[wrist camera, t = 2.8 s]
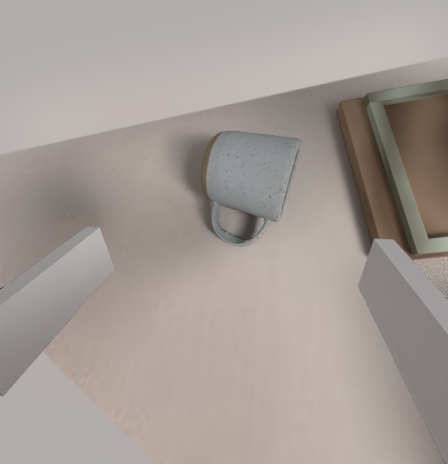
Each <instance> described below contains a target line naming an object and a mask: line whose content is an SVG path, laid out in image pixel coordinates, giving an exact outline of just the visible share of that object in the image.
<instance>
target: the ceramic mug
mask: <svg viewBox="0 0 448 464" xmlns="http://www.w3.org/2000/svg"><path fill="white" fill-rule="evenodd" d="M300 145H301V141H300V140H299V139H297V138H289V137H280V136H273V135H263V134H254V133H247V132H240V131H226V132H220V133H218V134H217V135H216V136H215V137H213V139H212V140H211V141H210V143H209V145H208V147H207V150H206V153H205V156H204V161H203V165H202V176H201V178H202V187H203V190H204V193H205V194H206V196H207V197H208V198H209V199H210V200H212V201H213V203H214V204H213V206H212V211H211V221H212V226H213V229H214V230H215V232H216V234H217V235H218V236H219V237H220V238H221V239H222V240H223V241H225V242H227V243H229V244H231V245H234V246H241V247H242V246H246V245H249V244H251V243H253V242H255V241H256V240H257V239H258V238H260V237H261V235H262V234H263V233H264V231H265V230H266V228H267V227H268V225H269V223H270V221H275V222H278V221H279V220H280V217H281V215H282V212H283V209H284V205H285V203H286V200H287V196H288V193H289V190H290V186H291V182H292V179H293V175H294V171H295V168H296V163H297V159H298V155H299V150H300ZM220 205H223V206H226V207H230V208H233V209H235V210H237V209H238V210H240V211H244V212H246V213H249V214H252V215H255V216H258V217H262V218H264V220H265V223H264V225H263V227H262V228H261V229H260V231H259V232H258V233H257V234H256V235H255V236H254V237H253V238H251V239H249V240H242V239H240V238H238V237H235V236H233V235H231V234H229V233H228V231H225V230H224V231H223V230H222V229H221V226H220V224H219V217H218V214H219V207H220Z"/></svg>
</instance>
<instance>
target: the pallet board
mask: <svg viewBox="0 0 448 464" xmlns="http://www.w3.org/2000/svg"><path fill="white" fill-rule="evenodd" d="M337 115H338V118H339V122H340V126H341V130H342V133H343V137H344V141H345V144H346V148H347V152H348V156H349V159H350V163H351V167H352V170H353V174H354V178H355V182H356V185H357V189H358V193H359V196H360V200H361V204H362V207H363V211H364V215H365V219H366V222H367V226H368V230H369V233H370V237H371V241H372V243H373V240H374V239H394V241H395V242H396V243H397V244H398V245H399V246H400V247H401V248H402V249H403V251H404V252H405V253H406V254H407V255H408V256H409V257H410V258H411V259H412V260H416V259H426V258H435V257H445V256H448V79H446V80H440V81H435V82H429V83H424V84H418V85H413V86H407V87H402V88H396V89H391V90H385V91H380V92H374V93H369V94H366V96H365V97H364V98H358V99H353V100H347V101H342V102H341V103H340V105H339V108H338V110H337Z"/></svg>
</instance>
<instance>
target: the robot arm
mask: <svg viewBox="0 0 448 464" xmlns="http://www.w3.org/2000/svg"><path fill="white" fill-rule="evenodd" d="M113 270H114V266H113V263H112V260H111V258H110V255H109V252H108V249H107V247H106V244H105V241H104V238H103V235H102V233H101V230H100V227H86V228H84V229H83V230H81V231H80V232H79V233H77V234H76V235H75V236H73V237H72V238H70V239H69V240H68V241H66V242H65V243H64V244H62V245H61V246H59V247H58V248H57V249H55V250H54V251H53V252H51V253H50V254H48V255H47V256H46V257H44V258H43V259H42V260H40V261H39V262H37V263H36V264H35V265H33V266H32V267H31V268H29V269H28V270H26V271H25V272H24V273H22V274H21V275H20V276H18V277H17V278H15V279H14V280H13V281H11V282H10V283H9V284H7V285H6V286H4V287H2V288H0V395H1V396H3V395H5V394H6V392H7V391H8V390H9V389H10V388H11V387H12V386H13V384H14V383H15V382H16V381H17V380H18V379H19V377H20V376H21V375H22V374H23V373H24V372H25V371H26V370H27V368H28V367H29V366H30V365H31V364H32V363H33V362H34V360H35V359H36V358H37V357H38V356H39V355H40V353H41V352H42V351H43V350H44V349H45V348H46V347H47V346H48V344H49V343H50V342H51V341H52V340H53V339H54V338H55V336H56V335H57V334H58V333H59V332H60V331H61V330H62V328H63V327H64V326H65V325H66V324H67V323H68V322H69V320H70V319H71V318H72V317H73V316H74V315H75V314H76V312H77V311H78V310H79V309H80V308H81V307H82V306H83V304H84V303H85V302H86V301H87V300H88V299H89V298H90V296H91V295H92V294H93V293H94V292H95V291H96V290H97V288H98V287H99V286H100V285H101V284H102V283H103V282H104V280H105V279H106V278H107V277H108V276H109V275H110V274H111V272H112V271H113ZM358 287H359V289H360V291H361V293H362V295H363V297H364V299H365V301H366V303H367V305H368V307H369V309H370V311H371V314H372V316H373V318H374V320H375V322H376V324H377V326H378V328H379V330H380V332H381V334H382V336H383V338H384V340H385V342H386V344H387V346H388V348H389V350H390V352H391V354H392V356H393V358H394V360H395V362H396V364H397V366H398V368H399V370H400V372H401V374H402V376H403V378H404V381H405V383H406V385H407V387H408V389H409V391H410V393H411V395H412V397H413V399H414V401H415V403H416V405H417V407H418V409H419V411H420V413H421V415H422V417H423V419H424V421H425V423H426V425H427V427H428V429H429V431H430V433H431V435H432V437H433V439H434V441H435V443H436V445H437V448H438V450H439V452H440V454H441V456H442V458H443V460H444V462H445V464H448V299H447V298H446V297H445V296H444V295H443V294H442V293H441V292H440V290H439V289H438V288H437V287H436V286H435V285H434V284H433V283H432V282H431V280H430V279H429V278H428V277H427V276H426V275H425V274H424V273H423V272H422V270H421V269H420V268H419V267H418V266H417V265H416V264H415V263H414V262H413V261H412V259H411V258H410V257H409V256H408V255H407V254H406V253H405V252H404V251H403V249H402V248H401V247H400V246H399V245H398V244H397V243H396V242H395V241H394V239H374V240H373V243H372V246H371V249H370V252H369V255H368V258H367V261H366V264H365V267H364V270H363V273H362V276H361V279H360V282H359V285H358Z"/></svg>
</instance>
